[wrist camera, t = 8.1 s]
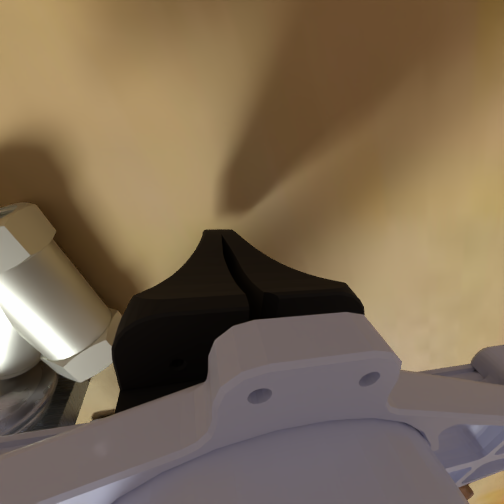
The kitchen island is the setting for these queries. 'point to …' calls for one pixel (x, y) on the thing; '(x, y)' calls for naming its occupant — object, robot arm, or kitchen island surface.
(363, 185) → the kitchen island surface
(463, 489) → the plant
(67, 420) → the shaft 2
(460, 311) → the kitchen island surface
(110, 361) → the pipe fitting
